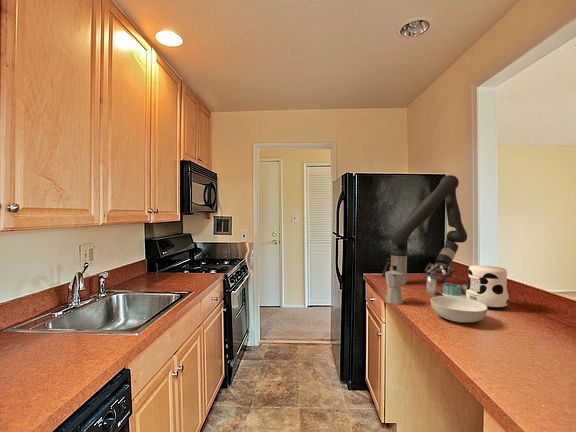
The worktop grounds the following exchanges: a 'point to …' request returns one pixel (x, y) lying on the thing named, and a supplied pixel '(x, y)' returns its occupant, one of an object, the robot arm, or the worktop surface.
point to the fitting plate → (454, 290)
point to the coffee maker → (394, 286)
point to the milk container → (488, 286)
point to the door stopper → (386, 268)
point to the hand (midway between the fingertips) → (433, 280)
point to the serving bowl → (458, 309)
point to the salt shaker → (431, 284)
